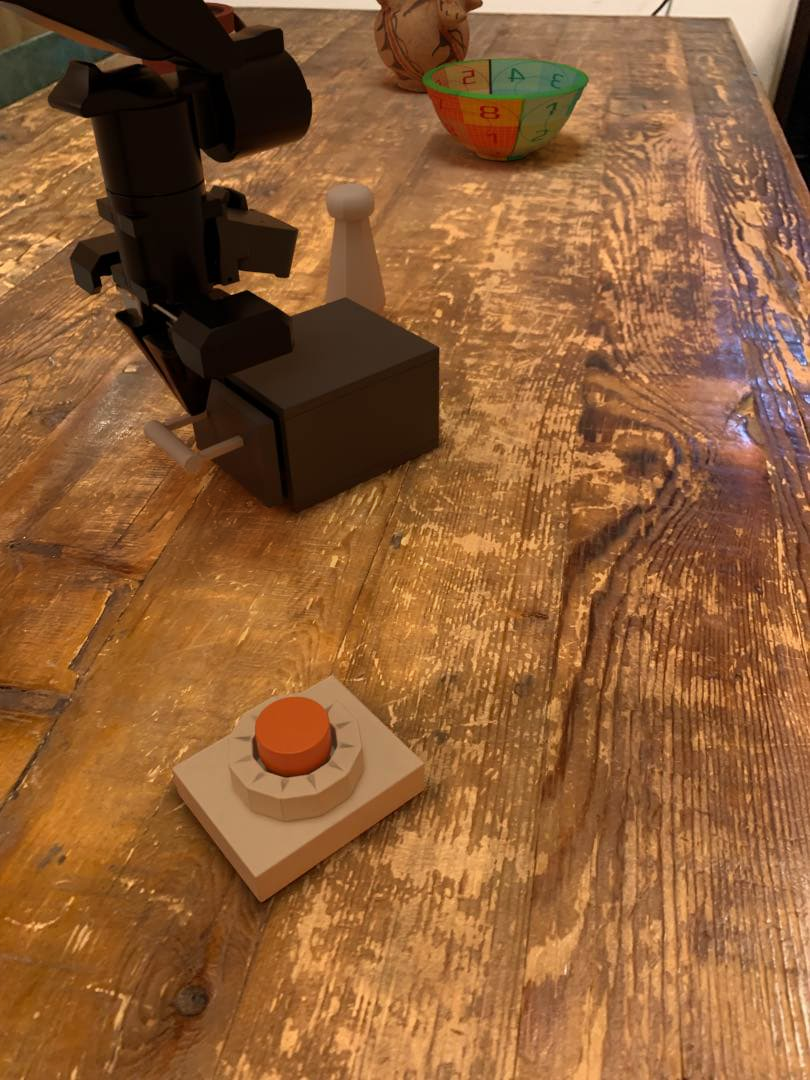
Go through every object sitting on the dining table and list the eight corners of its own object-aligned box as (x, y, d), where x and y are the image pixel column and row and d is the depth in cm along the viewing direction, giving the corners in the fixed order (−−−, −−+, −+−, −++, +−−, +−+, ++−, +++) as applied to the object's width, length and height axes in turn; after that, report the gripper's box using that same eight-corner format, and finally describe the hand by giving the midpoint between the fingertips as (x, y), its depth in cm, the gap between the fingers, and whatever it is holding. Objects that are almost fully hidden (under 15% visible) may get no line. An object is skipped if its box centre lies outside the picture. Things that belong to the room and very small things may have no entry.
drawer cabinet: (295, 513, 68) (283, 409, 62) (213, 446, 75) (196, 348, 69) (439, 446, 74) (439, 347, 69) (351, 390, 81) (345, 296, 76)
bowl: (591, 177, 124) (600, 95, 118) (422, 179, 125) (421, 98, 119) (571, 129, 142) (578, 56, 136) (422, 131, 142) (422, 58, 136)
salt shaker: (315, 321, 92) (304, 186, 84) (363, 305, 95) (356, 172, 87) (349, 342, 88) (341, 203, 80) (398, 325, 91) (394, 188, 83)
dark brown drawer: (211, 536, 64) (195, 452, 60) (141, 470, 71) (122, 390, 67) (406, 446, 73) (405, 367, 68) (328, 394, 79) (322, 319, 75)
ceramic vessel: (464, 102, 155) (468, -80, 140) (352, 97, 158) (343, -80, 143) (481, 76, 169) (486, -92, 154) (377, 73, 172) (372, -92, 157)
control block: (260, 904, 44) (250, 854, 41) (177, 794, 49) (164, 744, 46) (425, 790, 49) (424, 739, 46) (334, 700, 54) (330, 650, 51)
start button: (284, 789, 45) (281, 766, 44) (244, 743, 47) (240, 720, 46) (346, 750, 46) (344, 727, 45) (304, 708, 49) (301, 684, 48)
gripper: (360, 190, 54) (371, 426, 63) (197, 123, 65) (227, 332, 75) (186, 238, 48) (227, 489, 58) (41, 156, 60) (95, 377, 69)
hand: (196, 412), depth 65 cm, fingers closed
